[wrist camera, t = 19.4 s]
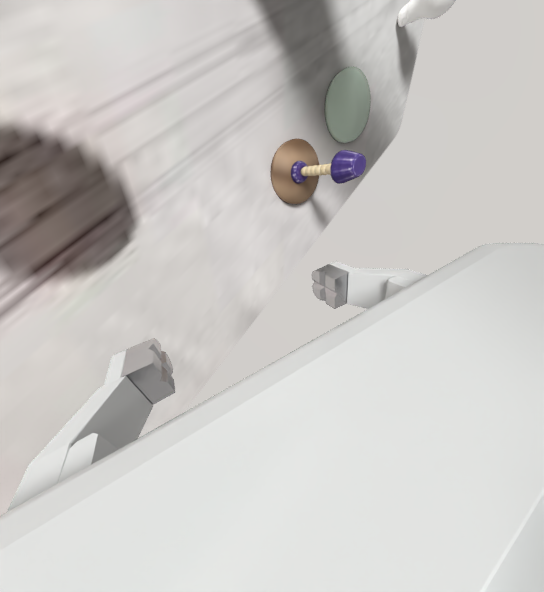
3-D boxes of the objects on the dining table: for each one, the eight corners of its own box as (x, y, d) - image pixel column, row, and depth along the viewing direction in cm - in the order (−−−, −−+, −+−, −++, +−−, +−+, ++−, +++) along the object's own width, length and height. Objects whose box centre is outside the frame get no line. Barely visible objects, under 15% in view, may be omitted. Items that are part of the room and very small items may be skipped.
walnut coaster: (265, 144, 39) (268, 142, 38) (314, 136, 43) (318, 135, 42) (275, 209, 45) (278, 209, 44) (317, 197, 49) (320, 197, 48)
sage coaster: (324, 69, 38) (328, 66, 37) (368, 69, 42) (373, 66, 41) (325, 146, 45) (329, 145, 44) (363, 139, 48) (367, 138, 47)
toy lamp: (302, 189, 45) (363, 186, 32) (285, 182, 42) (344, 176, 29) (308, 165, 43) (376, 152, 30) (292, 156, 41) (357, 138, 28)
